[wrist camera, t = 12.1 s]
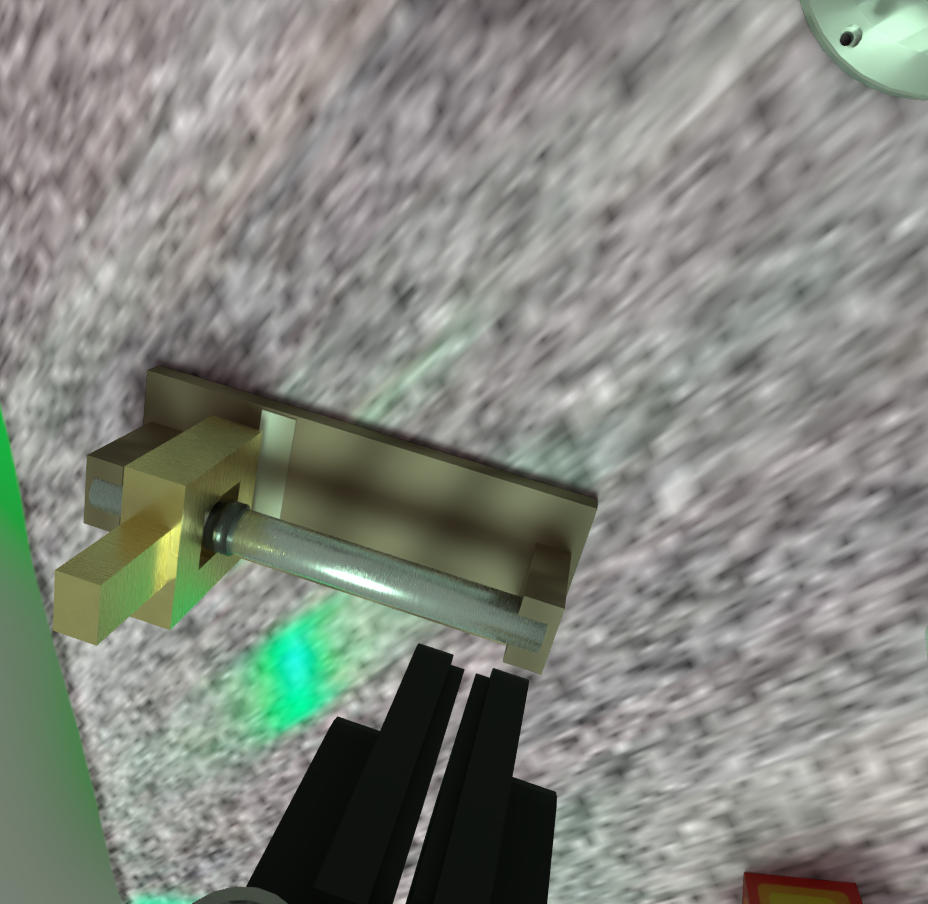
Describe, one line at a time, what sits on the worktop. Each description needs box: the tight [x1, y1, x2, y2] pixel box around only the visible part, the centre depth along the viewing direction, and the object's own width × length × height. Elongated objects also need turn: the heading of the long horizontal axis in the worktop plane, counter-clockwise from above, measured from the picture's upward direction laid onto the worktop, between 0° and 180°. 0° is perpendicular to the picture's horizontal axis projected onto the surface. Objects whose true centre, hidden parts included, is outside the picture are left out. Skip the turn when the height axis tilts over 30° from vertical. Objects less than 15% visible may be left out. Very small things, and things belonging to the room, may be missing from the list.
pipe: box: [89, 478, 548, 654], centre depth 38 cm, size 24×3×3 cm, turn 76°
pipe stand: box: [84, 365, 598, 674], centre depth 40 cm, size 26×10×7 cm, turn 76°
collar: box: [53, 416, 263, 646], centre depth 36 cm, size 3×8×13 cm, turn 166°
